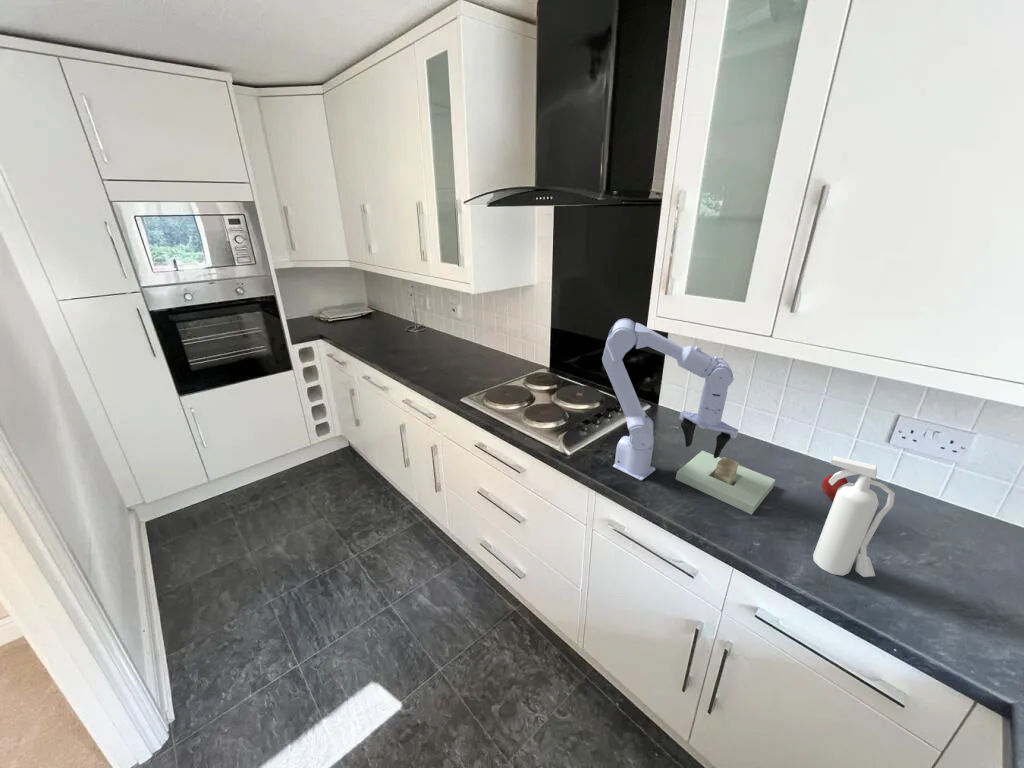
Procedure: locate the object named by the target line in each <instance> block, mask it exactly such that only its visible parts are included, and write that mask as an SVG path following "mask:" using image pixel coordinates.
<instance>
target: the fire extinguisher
mask: <svg viewBox="0 0 1024 768" xmlns="http://www.w3.org/2000/svg"><path fill="white" fill-rule="evenodd" d="M830 465H833V466H836V467H839V468H842V470H840V471H837V472H835V473H833V474H834V475H833V474H832V475H833V476H832V477H831V478H830V480H829V481H828V482H829V483H830V484H831V485H833V484H834V483H835V482H836V481H837V480H839V479H842V478H847V477H849V476H854V475H857V476H858V475H859V476H858V477H857V479H856V481H855V483H854V482H848V483H847V484H844V485H842V486H841V487H839V488H838V490H837V493H836V496H835V498H834V499H833V501H832V504H831V506H830V509H829V512H828V515H827V516H826V517H827V518H826V519H825V523H824V524H823V528H822V530H821V534H820V536H819V539H818V541H817V543H816V546H815V549H814V552H813V555H812V557H813V562H814V563H815V564H816V565H817V566H818V567H819V568H820V569H822V570H824V571H826V572H827V573H829V574H832V575H838V576H842V577H843V576H845V575H847V574H849V573H850V572H851V570H852V567H853V565H854V563H855V560H856V563H855V564H856V565H855V572H856V573H858V574H859V575H860V576H862V577H863V578H868V577H876V574H875V570H874V567H873V564H872V561H871V557H869V556H868V555H867V553H868V552H867V550H868V549H867V547H868V545H869V543H870V542H871V539H872V538H873V537H874V536H873V535H874V534H875V532H876V531H877V529H878V527H879V526H880V524H881V522H882V521H883V518H884V517H885V516H886V515H887V514H888V513H889V511H890V510H891V509H892V508H893V507H894V504H895V503H894V502H895V496H896V493H895V491H893V490H892V489H890V487H888V486H887V485H886V484H885V483H883V482H879V481H877V480H874V479H877V476H878V475H877V474H878V472H877V471H878V470H877V465H876V464H872V463H868V462H863V461H859V460H854V459H850V458H845V457H841V456H837V455H833V457H832V458H831V461H830ZM871 485H873V486H875V487H879V488H880V489H882V491H884V492H886V493H887V494H888V495H887V499H886V503H885V505H884V506H883V507H882V509H880V510H879V512H878V513H877V514H876V512H877V509H878V507H879V505H880V504H879V499H878V495H877V493H876V492H875V491H874V490H872V489H870V486H871ZM875 514H876V516H875ZM874 516H875V518H874ZM873 519H874V520H873ZM859 551H860V553H859Z"/></svg>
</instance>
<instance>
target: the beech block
mask: <svg viewBox="0 0 1024 768" xmlns="http://www.w3.org/2000/svg"><path fill="white" fill-rule="evenodd" d="M721 458H722V459H721V460H720V461H719V462H718V463H717V467H716V472H715V476H714V478H716V479H718V480H720V481H723V482H725V483H727V484H730V485H732V486H734V485H735V481H734V480H735V476H736V472H737V468H738V465H740V464H739V463H740V462H738V461H736V460H733V459H730V458H728V457H727V456H722V457H721Z"/></svg>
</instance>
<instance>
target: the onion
mask: <svg viewBox="0 0 1024 768" xmlns="http://www.w3.org/2000/svg"><path fill="white" fill-rule="evenodd" d="M834 474H835V473H833V474H830V475H828V476H825V478H824V479H822V481H821V490H822V491H823V493H824V495H826V496H827V497H828V499H830V500H834V498H835V496H836V493H837V490H838V488H839V487H841V486H842V485H844V484H847V483H849V481H848V480H847V477H844V478H842V479H839V480H837V481H836V482H835V483H834V484H833V485H831V484H830V483H829V482H828V481H829V480H830V478H831V477H832V476H833V475H834Z"/></svg>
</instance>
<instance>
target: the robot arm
mask: <svg viewBox="0 0 1024 768" xmlns="http://www.w3.org/2000/svg"><path fill="white" fill-rule="evenodd" d="M634 346H635V349H636V350H639V349H643V348H645V347H647V348H648V347H649V348H650V349H653V350H655V351H657V352H660V353H662V354H664V355H665V356H669V357H671V358H673V359H675V360H676V362H677V365H678V367H680V368H682V369H684V370H686V371H687V372H690V373H692V374H693V375H696V376H697V377H699V378H703V379H704V384H703V388H702V391H701V397H700V402H699V405H698V406H699V407H698V411H697V413H695V412H691V411H690V412H689V411H685V410H683V411H682V412H680V414H679V418H678V419H679V420H681V421H682V422H680V427H681V429H682V432H683V435H684V440H685V448H689V447H690V446H691V445H692V444H693V439H694V434H695V430H696V426H697V427H698V428H700V429H704V430H707V429H708V430H712V431H715V432H718V433H719V435H717V436H716V439H715V440H716V443H715V450H714V454H713V455H714V458H717V457H720V455H721V452H722V450H723V449H724V448H725V446H726V445H727V443H728V442H729V441H730V440H731V439H734V440H735V439H736V438H737V437H738V434H739V431H740V430H739V429H738V428H736V427H733V426H731V425H730V424H727V423H725V422H724V421H722V418H723V414H724V411H725V410H724V409H725V404H726V401H727V395H728V389H729V386H731V385H732V383H733V382H734V379H735V378H734V374H733V371H732V369H731V367H730V364H729V363H728V362H727V361H726V360H724V358H721V357H718V356H716V355H714V356H712V355H710V354H708V353H706V352H703V351H702V348H701V346H698V345H696V346H692V345H688V346H681V345H679V344H677V342H673V341H671V340H670V339H668V338H667V337H665V336H663V335H661V334H660V333H658V332H656V331H655V330H652V329H651V328H649V327H647V326H646V325H643V324H642V323H639V322H634V321H633V320H632V319H630V318H621V319H618V320H617V321H616V322H615V323H614V324H613V325H612V326H611V328H610V330H609V332H608V336H607V339H606V342H605V347H604V350H603V355H602V357H601V361H602V365H603V367H604V369H605V371H606V373H607V376H608V379H609V381H610V383H611V386H612V389H613V390H614V393H615V395H616V397H617V400H618V402H619V404H620V407H621V409H622V412H623V414H624V416H625V420H626V425H627V429H628V432H629V435H623V436H622V437H621V438H620V440H619V441H618V442H617V445H616V450H615V459H614V464H613V465H612V468H615V469H617V470H618V471H620V472H623V473H625V474H626V475H629V476H631V477H633V478H635V479H637V480H638V481H643V480H644V479H646V478H647V477H648V476H650V475H651V474H652V473H653V472H655V471H656V469H657V468H656V467H654V466H651V464H652V463H651V462H652V458H653V457H652V456H653V450H654V445H655V443H654V442H655V441H654V439H655V438H654V427H655V426H654V421H653V420H652V418H650V417H649V416H648V415H647V413H646V410H645V409H643V407H642V405H641V403H640V400H639V397H638V395H637V393H636V391H635V388H634V386H633V385H634V384H633V383H632V381H631V378H630V376H629V373H628V371H627V369H626V367H625V364H624V361H623V359H624V357H625V355H626V354H627V353H628V352H629V351H630V350H632V348H633V347H634Z"/></svg>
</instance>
